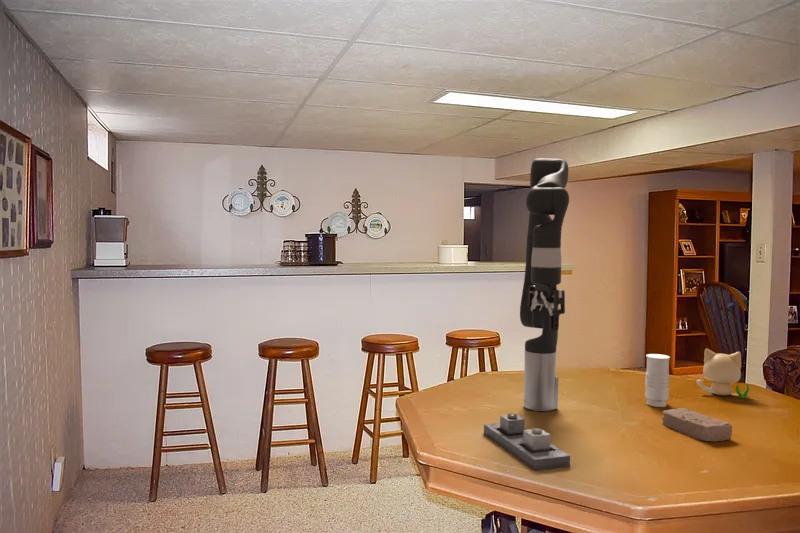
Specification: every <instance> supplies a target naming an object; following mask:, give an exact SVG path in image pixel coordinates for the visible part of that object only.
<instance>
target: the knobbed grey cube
mask: <svg viewBox="0 0 800 533" xmlns="http://www.w3.org/2000/svg"><path fill="white" fill-rule="evenodd" d="M499 421H500V422H499V423H500V432H501V433H502V434H504V435H505V436H516V435H524V429H525V428H526V427H525V426H526V425H525V424H526V422H525V418H523V417H522V416H520V415H518V414H517V413H509V412H508V413H507V414H504V415H500V417H499Z"/></svg>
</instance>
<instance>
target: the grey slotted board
mask: <svg viewBox="0 0 800 533" xmlns="http://www.w3.org/2000/svg"><path fill="white" fill-rule="evenodd" d="M524 430H529V429H528V428H526V427H525V429H524ZM483 434H484V435H485V436H487V437H489V438H490V439H491V440H492V441H494V443H497V444H498V445H500V447H502V448H503V449H504V450H506V451H508V453H510V454H512V455H513V456H514V457H516V458H517V459H518V460H520V461H521V462H523V463H524V464H525V465H526V466H528V467H530V468H531V469H532V470H534V471H540V470H548V469H549V470H550V469H557V468H565V467H571V455H570V454H568V453H566V452H565V451H564V450H562V449H561V448H559V447H557V446H555V445H554V444H552V443H551V442H550V451H548V452H539V453H530V452H529V451H527V450H526V449H524V448H523V435H516V436H505V435H504V434H502V433H501V432H500V422H495V423H484V424H483Z"/></svg>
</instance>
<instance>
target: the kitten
mask: <svg viewBox="0 0 800 533" xmlns="http://www.w3.org/2000/svg"><path fill="white" fill-rule="evenodd" d="M703 363H704V364H703V367H702V368H703V369H702V372H703V374H702V375H703V376H704V377H705V378H706V379H707V380H708V381H711V382H712V383H711V385H710V387H708V386H706V385H705V382H704V381H703V380H702V379H700V378H699V379H697V380H696V385H697V386H698V387H700V388H701V389H703V390H704V391H706V392H708V393H711V394H715V395H717V396H730V395H732V394H733V387H732V384H734V383H737V382H739V381H740V379H741V377H742V374H741V368H742V353H741V351H735V352H734V353H730V354H727V353H720V352H719V353H716V352H714V351H713V350H711V349H709V348H705V349H704V358H703ZM745 384H746V389H745V390H744V391H743V393H742V392H741V391H740V388H739V387H740V386H739V383H737V384H736V387H735V392H736V394H737V396H738V398H739V399H742V398H743V399H746V398H747V397H748V393H749V391H750V386H749V384H748V383H747V382H745Z"/></svg>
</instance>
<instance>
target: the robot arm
mask: <svg viewBox="0 0 800 533" xmlns="http://www.w3.org/2000/svg"><path fill="white" fill-rule="evenodd" d="M529 176H530V177H529V181H530V182H529V184H530V185H529V187H530V188H529V191H528V193H527V196H526V201H525V202H526V204H525V205H526V208H527V210H528V211H529V214H528V216H529V217H528V225H527V236H526V249H525V250H526V252H525V269H524V270H525V271H524V278H523V286H522V293H521V300H520V305H519V318H520V323H521V324H522V326H524V327H526V328H534V329H541V331H542V332H541V334H540V335H539V336H538V337H534V338H530V339H527V340H526V341H525V342H524V368H523V369H524V371H523V374H524V375H523V376H524V378H523V407H524V408H525V409H527V410H531V411H535V412H550V411H553V410H555V409H558V408H559V377H558V376H557V373H556V372H557V371H556V370H557V345H558V338H559V336H558V335H559V328H560V326H559V324H560V323H559V320H560V316H561V315H563V314H565V312H566V309H565V308H566V307H565V306H566V305H565V304H566V301H565V300H566V298H565V296H566V292H565V290H564V289H558V288H557V286H558V285H560V284H561V283H562V249H561V248H562V228H563V224H564V220H565V216H566V213H567V210H568V208H569V204H570V195H569V193H568V190H566V187H567V184H568V181H569V164H568V162H567V160H565V159H562V158H543V157H542V158H534V159H533V160H532V163H531V167H530V175H529ZM551 216H553V218H552V217H551Z"/></svg>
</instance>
